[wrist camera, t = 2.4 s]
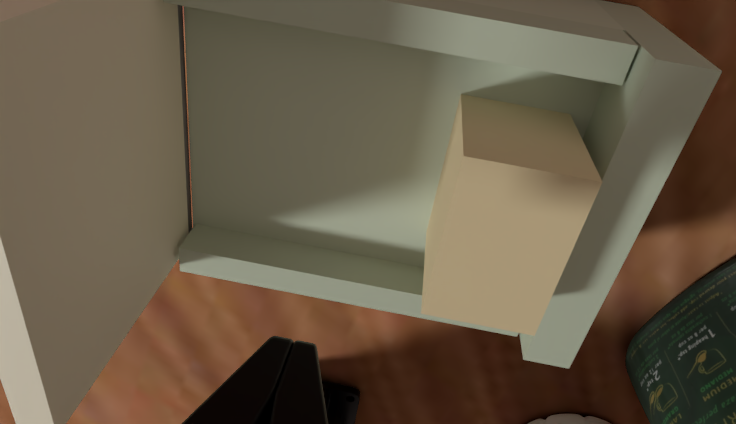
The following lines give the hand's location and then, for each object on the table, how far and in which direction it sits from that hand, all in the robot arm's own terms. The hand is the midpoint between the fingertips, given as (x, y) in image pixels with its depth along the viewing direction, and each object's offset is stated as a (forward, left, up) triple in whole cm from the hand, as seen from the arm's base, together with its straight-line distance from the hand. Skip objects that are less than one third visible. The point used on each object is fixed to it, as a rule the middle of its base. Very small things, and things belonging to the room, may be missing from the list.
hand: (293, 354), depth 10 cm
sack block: (0, -4, -8) cm, 10 cm away
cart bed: (0, 0, -12) cm, 13 cm away
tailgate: (0, +7, -5) cm, 8 cm away
